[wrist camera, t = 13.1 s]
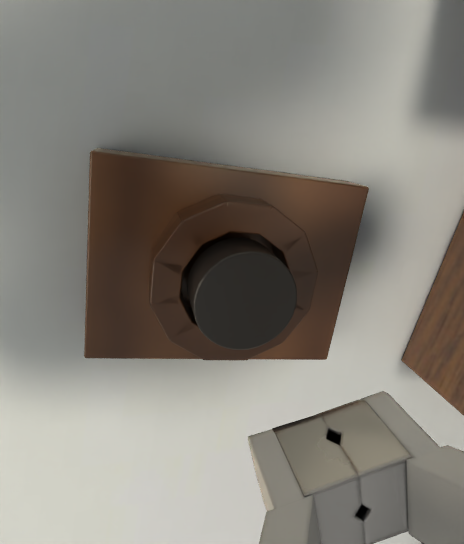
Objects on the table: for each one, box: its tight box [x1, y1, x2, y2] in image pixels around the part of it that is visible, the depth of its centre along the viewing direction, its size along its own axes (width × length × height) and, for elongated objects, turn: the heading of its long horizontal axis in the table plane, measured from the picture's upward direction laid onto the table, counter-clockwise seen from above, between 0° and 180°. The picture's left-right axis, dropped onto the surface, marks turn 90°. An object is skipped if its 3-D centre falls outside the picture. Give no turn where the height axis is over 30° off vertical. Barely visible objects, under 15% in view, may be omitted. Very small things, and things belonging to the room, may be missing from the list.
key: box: [187, 238, 297, 350], centre depth 16 cm, size 4×4×2 cm
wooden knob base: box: [84, 148, 369, 360], centre depth 18 cm, size 12×9×4 cm
